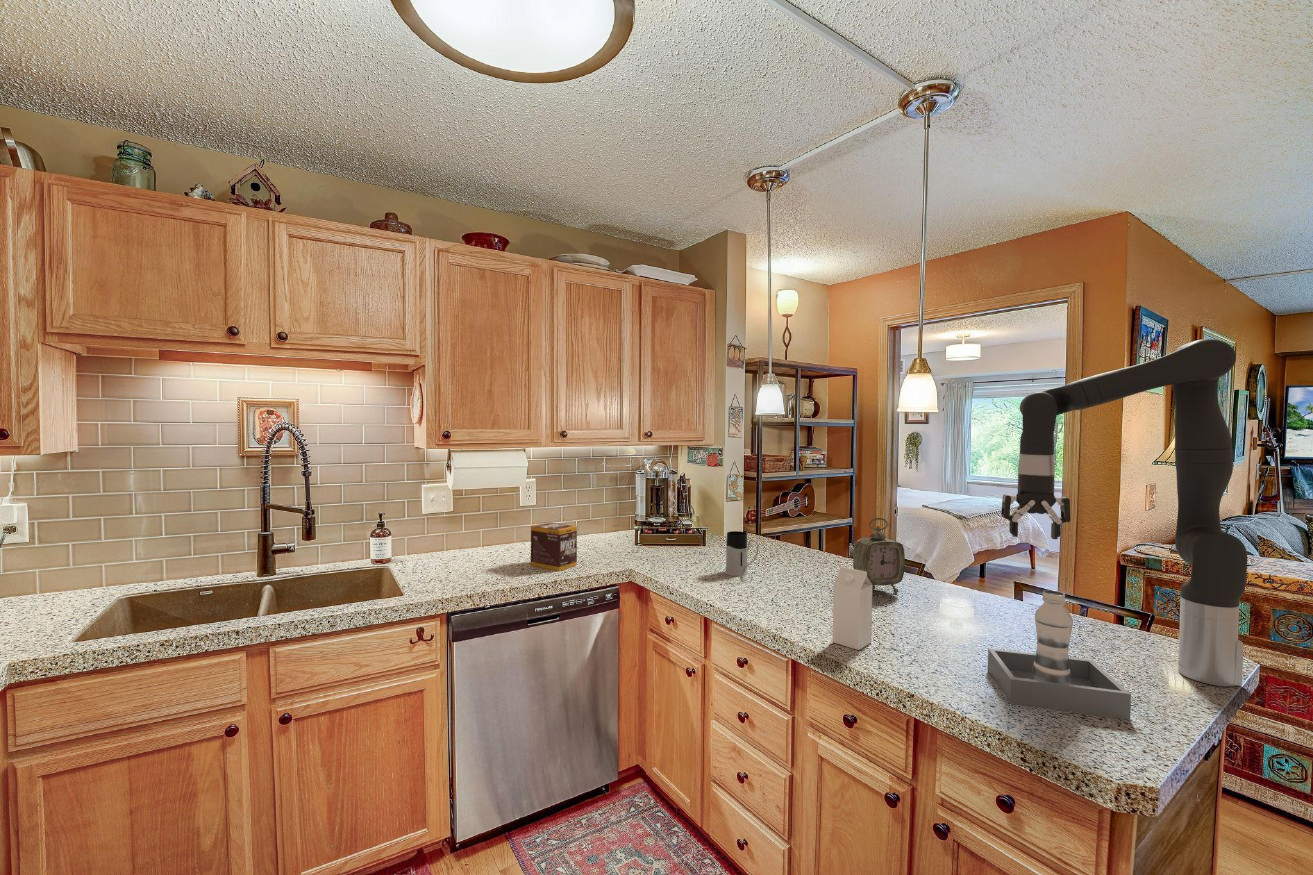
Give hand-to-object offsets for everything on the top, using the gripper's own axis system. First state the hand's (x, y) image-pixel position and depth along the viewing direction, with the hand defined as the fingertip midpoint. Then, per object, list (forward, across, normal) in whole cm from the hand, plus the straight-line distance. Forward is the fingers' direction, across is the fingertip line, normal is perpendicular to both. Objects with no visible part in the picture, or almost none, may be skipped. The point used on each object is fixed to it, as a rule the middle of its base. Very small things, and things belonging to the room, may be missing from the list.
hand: (1034, 537), depth 138 cm
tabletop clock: (+28, -33, +39) cm, 58 cm away
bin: (+28, -4, -25) cm, 38 cm away
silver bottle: (+27, -4, -25) cm, 37 cm away
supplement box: (+28, -151, +35) cm, 158 cm away
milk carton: (+28, -43, -10) cm, 52 cm away
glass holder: (+28, -79, +46) cm, 96 cm away
